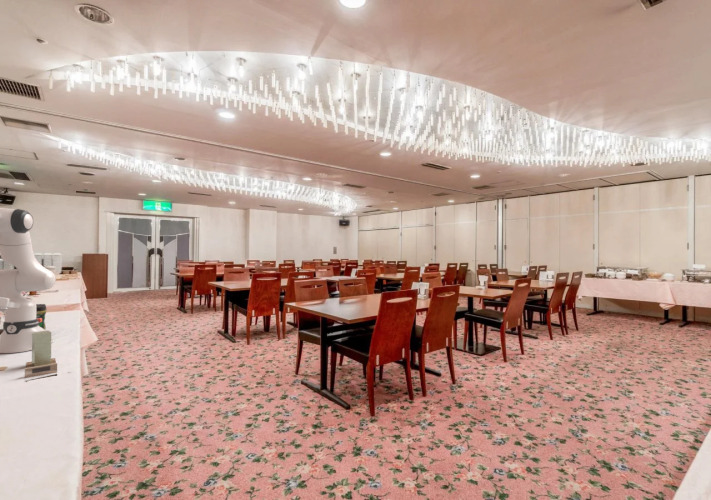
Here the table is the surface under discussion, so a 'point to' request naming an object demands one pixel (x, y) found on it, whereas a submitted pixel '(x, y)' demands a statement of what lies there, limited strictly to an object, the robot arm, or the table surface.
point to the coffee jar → (41, 314)
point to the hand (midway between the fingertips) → (12, 307)
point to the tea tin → (41, 348)
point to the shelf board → (40, 369)
